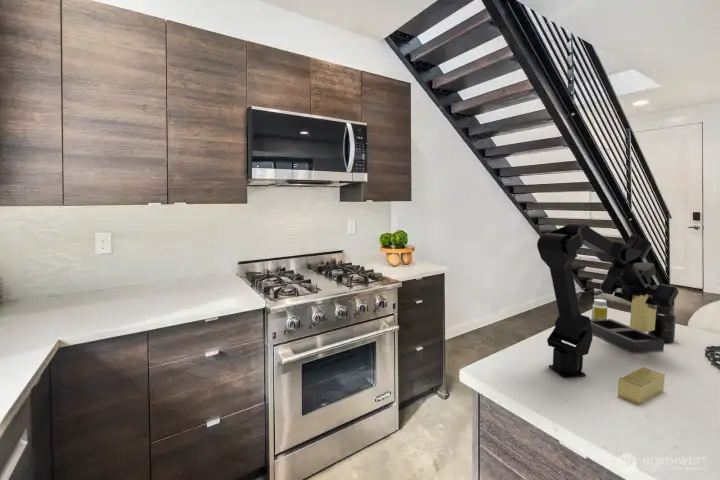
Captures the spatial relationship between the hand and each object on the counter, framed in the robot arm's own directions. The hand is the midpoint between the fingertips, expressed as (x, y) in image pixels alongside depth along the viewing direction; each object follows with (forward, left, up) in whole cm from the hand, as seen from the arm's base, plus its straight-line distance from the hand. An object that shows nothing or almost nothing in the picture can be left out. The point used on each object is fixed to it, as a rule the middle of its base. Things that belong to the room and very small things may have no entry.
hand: (646, 306), depth 112 cm
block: (-25, -23, -14) cm, 36 cm away
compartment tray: (-2, +7, -13) cm, 15 cm away
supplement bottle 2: (+11, +5, -14) cm, 18 cm away
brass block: (-1, 0, -7) cm, 7 cm away
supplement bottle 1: (+5, +24, -14) cm, 28 cm away
